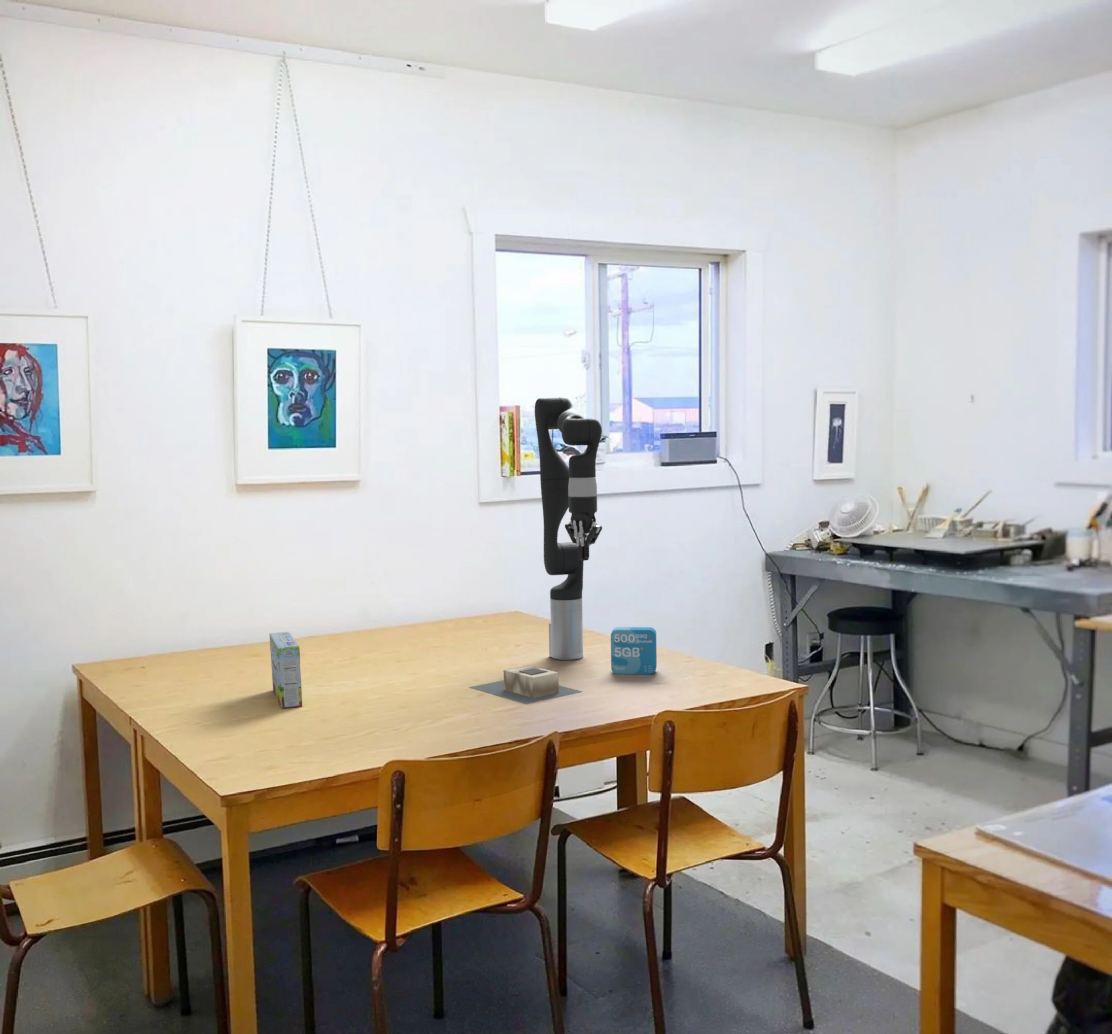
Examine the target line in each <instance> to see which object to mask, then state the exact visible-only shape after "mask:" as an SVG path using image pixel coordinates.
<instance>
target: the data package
mask: <svg viewBox="0 0 1112 1034" xmlns="http://www.w3.org/2000/svg"><path fill="white" fill-rule="evenodd" d="M657 656H658V655H657V631H656V629H655V628H653V627H651V626H650V627H648V626H647V627H646V626H642V627H641V626H632V627H631V626H622V627H621V626H617V627H614V628H613V629H612V631H611V633H610V667H611V668H610V669H611V671H612V672H613V674H615V675H653V674H654V673H655V672H656V670H657V664H658V663H657Z"/></svg>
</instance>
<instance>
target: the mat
mask: <svg viewBox="0 0 1112 1034" xmlns="http://www.w3.org/2000/svg"><path fill="white" fill-rule="evenodd" d="M468 688H470V689H473V690H476V691H480V692H482V693H487V694H491V695H494V696H496V697H500V698H502V699H503V698H504V699H507V700H510V701H513V702H514V701H515V702H518V703H521V704H525V705H528V704H535V703H538V702H543V701H547V700H553V699H556V698H560V697H565V696H569V695H574V694H575V695H576V694H580V693H583V692H584V691H583V690H578V689H575V688H570V687H567V686H562V685H559V693H554V694H550V695H545V696H540V697H536V698H532V697H528V696H525V695H521V694H518V693H514V692H511V691H507V690H504V679H502V680H499V681H498V680H497V681H493V682H489V683H483V684H478V685H473V686H469V687H468Z"/></svg>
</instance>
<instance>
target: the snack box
mask: <svg viewBox="0 0 1112 1034" xmlns="http://www.w3.org/2000/svg"><path fill="white" fill-rule="evenodd" d="M269 648H270V661H271V662H270V663H271V664H270V665H271V676H272V678H271V679H272V681H271V682H272V690H273V692H274V695H275V697H276V699H277V702H278V704H279V706H280V708H281V709H282V710H283V709H292V708H299V707H300V708H301V707H303V693H302V691H303V690H302V674H301V671H302V670H301V655H300V653H301V652H300V645H299V644H298V643H297V641H296V639H295V638H294V637H293V636H292V634H291V633H290V631H281V632H280V631H279V632H271V633H270V632H269Z"/></svg>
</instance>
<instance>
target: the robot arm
mask: <svg viewBox="0 0 1112 1034" xmlns="http://www.w3.org/2000/svg"><path fill="white" fill-rule="evenodd" d="M534 419H535V427H536V428H535V429H536V437H537V444H538V445H537V446H538V452H539V453H538V454H539V475H540V476H539V478H540V480H539V481H540V492H541V493H540V494H541V495H540V496H541V505H542V516H543V517H542V518H543V519H542V520H543V565H544V569H545V572H546V573H547V575H549V576H565V575H566V576H567V577H566V579H565V580H564V581H562V582H561V583H559V584H557V585H555V586H553V587H552V588H550V590H549V595H550V596H549V598H550V600H549V603H550V605H549V608H550V623H548V650H549V651H548V653H549V656H548V657H551V658H552V659H554V660H559V661H561V660H562V661H565V660H566V661H571V660H579V659H582V658H583V657H584V639H583V638H584V631H583V630H584V627H583V626H584V623H583V620H584V618H583V588H584V561H588V560H589V559H590V546H591V545H594V544H596V542H597V539H598V537H599V535H600V534H601V532H602V530H603V526H602V525H599V524H598V523H597V521H596V520H597V518H596V516H595V514H596V513H598V486H597V478H596V476H597V475H596V474H597V473H596V469H597V468H596V462H597V461H596V460H597V455H598V449H599V445H600V442H601V437H602V434H603V429H602V428H603V427H602V424H601V423H600V421H599V420H598V419H596V418H584V416H582V415H581V414H580V413H578V411H577V408H576V406H575V404H574V403H573V401H572V400H571V399H569V398H568V397H564V396H561V397H560V396H559V397H539V398H537V399H536V401H535V403H534ZM550 430H559V431H560V433H561V438H562V441H563V442H564V444H565V445H566V446H571V447H572V446H573V447H575V446H586V449H585V450H584V451H583V452H581V453H577V454H575V455H571V456H570V457H569V459H568V465H567V463H566V462H565V460H564V458H563V457H562V456H561V455H560V453H559V452H558V451H557V449H556V447H555V446H554V443H553V440H552V439H551V435H550ZM567 511H568V512H569V513H570V514H571V515H570V516H571V517H570V521H569V522H568V523H565V524H564V528H565V530H566V532H567V535H568V536H569V539H570V540H571V542H570V541H569V542H558V536H559V535H558V534H559V529H560V525H561V523H562V520H563V519H564V517H565V515H566V513H567Z"/></svg>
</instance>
